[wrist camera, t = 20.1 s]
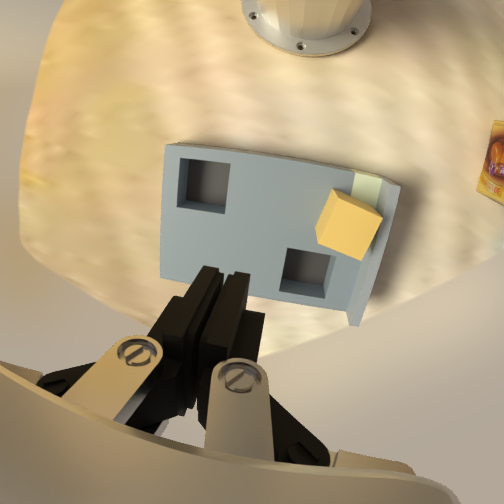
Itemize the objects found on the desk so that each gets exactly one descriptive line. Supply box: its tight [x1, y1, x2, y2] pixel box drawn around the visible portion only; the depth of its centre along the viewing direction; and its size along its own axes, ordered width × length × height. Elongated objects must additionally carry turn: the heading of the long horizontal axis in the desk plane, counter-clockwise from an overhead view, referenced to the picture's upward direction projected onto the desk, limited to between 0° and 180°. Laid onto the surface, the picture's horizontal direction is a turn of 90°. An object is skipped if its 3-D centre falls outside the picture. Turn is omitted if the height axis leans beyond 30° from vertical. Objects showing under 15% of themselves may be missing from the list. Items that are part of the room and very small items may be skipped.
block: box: [315, 188, 383, 261], centre depth 25 cm, size 4×4×4 cm
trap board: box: [160, 143, 401, 326], centre depth 29 cm, size 14×21×6 cm, turn 83°
